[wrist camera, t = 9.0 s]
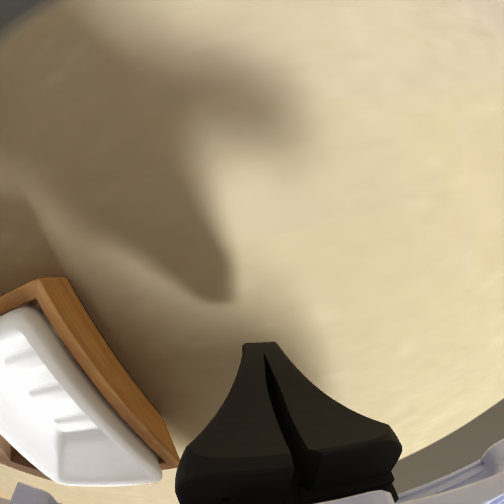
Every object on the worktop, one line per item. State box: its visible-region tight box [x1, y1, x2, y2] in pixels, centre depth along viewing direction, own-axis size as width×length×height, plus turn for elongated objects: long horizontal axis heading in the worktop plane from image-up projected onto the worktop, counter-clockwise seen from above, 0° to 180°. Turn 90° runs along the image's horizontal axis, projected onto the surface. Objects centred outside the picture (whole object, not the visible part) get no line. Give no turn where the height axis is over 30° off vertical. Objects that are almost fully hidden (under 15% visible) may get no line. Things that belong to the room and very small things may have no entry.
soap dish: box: [0, 277, 180, 486], centre depth 13 cm, size 12×10×5 cm
